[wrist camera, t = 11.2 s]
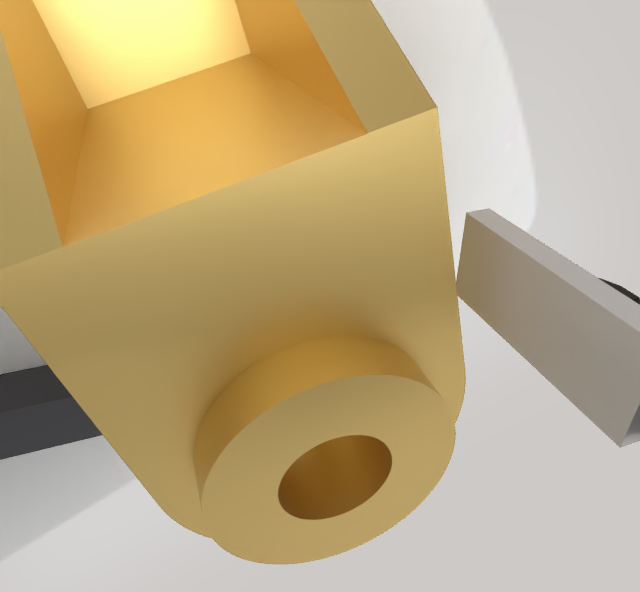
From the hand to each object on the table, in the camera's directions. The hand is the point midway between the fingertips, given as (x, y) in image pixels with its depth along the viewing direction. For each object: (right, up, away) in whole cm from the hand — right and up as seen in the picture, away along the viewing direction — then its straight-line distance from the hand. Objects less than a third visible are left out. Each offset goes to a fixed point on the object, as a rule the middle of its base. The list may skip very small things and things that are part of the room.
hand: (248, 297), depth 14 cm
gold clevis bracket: (-4, +8, +9) cm, 13 cm away
